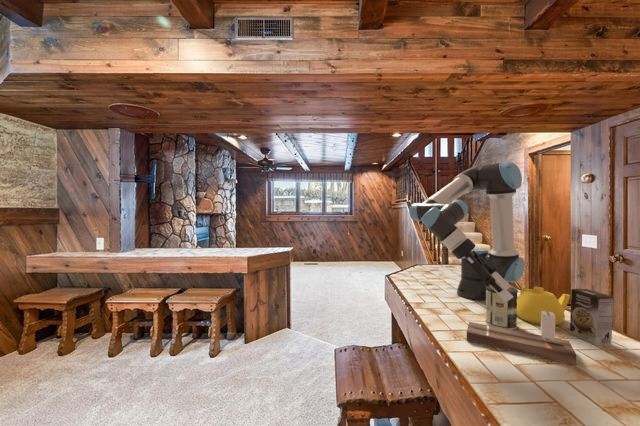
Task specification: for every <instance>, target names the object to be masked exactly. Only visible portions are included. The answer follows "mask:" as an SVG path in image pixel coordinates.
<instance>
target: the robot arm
mask: <svg viewBox="0 0 640 426" xmlns="http://www.w3.org/2000/svg"><path fill="white" fill-rule="evenodd" d="M522 176H523V175H522V173H521V170H520V167H519V166H518V164H516V163H514V162H511V161H510V162H503V161H502V162H498V163H497V162H495V163H488V164H479V165H476V166H475V165H474V166H471V167H470V168H467V169H466V170H464V171H462V172H460V173H459V174H457V175H456V176H454V178H453V179H452V181H451V182H450V183H448V184H447V185H446V186H444V187H442V188H440V190H439V191H437V192H435V193H434V194H433V195H431V196H430V197H429V198H427V199H425V200H424V201H422V202H417V203H412V204H411V206H410V207H409V210H408V211H409V213H408V214H409V217H410V219H411V220H412V221H416V222H417V221H418V222H422V224H423V225H424V226H425V227H426V229H428V231H430V233H432V234H433V235H434V236H435V237H436V238H437V240H439V242H441V243H442V246H443V248H444V247H445V248H447V249H448V251H451V253H452V254H453V255H454V257H455V258H456V259H457V260H461V261H460V262H461V263H460V265H461V267H460V277H461V278H460V281H459V283H458V286H457V288H456V294H457V295H458V296H460V297H462V298H466V299H470V300H478V301H486V286H490V287H491V288H492V289H493V290H494V291H495V292H496V293H497V294H498V295H499V296H500V297H501V298H502V299H503V300H504V301H505V302H507V301H509V300H510V299H512V298H513V296H512V295H511V294H510V293H509V292H508V291H507V289H508V288H510V287H512V286H511V284H510V283H517V282H519V281H520V280H521V278H522V277H523V274H524V271H525V267H526V262H525V260H524V258H522V257H521V256H519V255H520V253H519V251H518V250H516V249H515V234H514V232H515V229H514V227H515V226H514V207H513V203H514V202H513V196H514V195H515V194H517V190H518V189H520V187H522V181H523V178H522ZM484 190H485V195H487V196H488V197H489V205H490V225H491V244H492V245H491V246H492V248H491V249H490V250H488V249H479V248H478V249H476V244H475V242H473V241H472V240H471V239H470V238H467V235H466V234H465V233H464V232H463V231H462V230H461V229H460V228H458V226H457V224H458V223H459V222H460V221H462V220H464V218H465V217H466V216H468V213H469V207H468V205H467V203H466V202H465V201H463V200H461V199H459V198H460V197H461V196H463V195H465V194H469V193H470V192H474V191H484Z"/></svg>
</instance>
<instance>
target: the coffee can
mask: <svg viewBox="0 0 640 426" xmlns="http://www.w3.org/2000/svg"><path fill="white" fill-rule="evenodd" d="M507 291H508V292H509V293H510V294H511V295H512V296H513V298H512V299H510V300H509V301H507V302H505V301H504V300H503V299H502V298H501V297H500V296H499V295H498V294H497V293H496V292H495V291H494V290H493V289H492V288H491V287H490V286H486V300H485V323H486V325H489V326H494V327H499V328H505V329H510V330H516V329H517V328H518V327H517V325H518V324H517V322H518V320H517V318H518V316H517V297H518V292H519V291H518V289H517V288H516V287H512V286H511V287H510V288H508V289H507Z"/></svg>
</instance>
